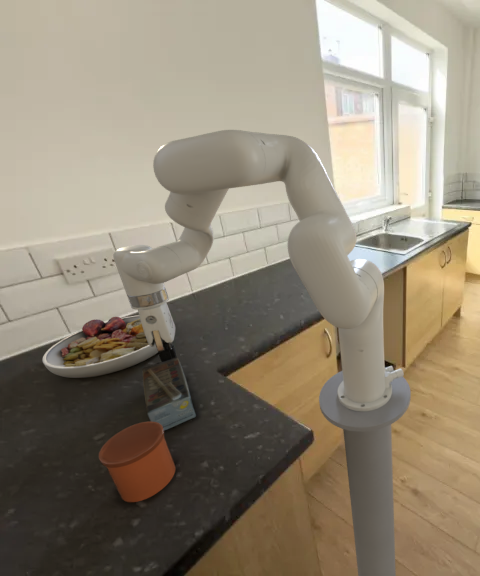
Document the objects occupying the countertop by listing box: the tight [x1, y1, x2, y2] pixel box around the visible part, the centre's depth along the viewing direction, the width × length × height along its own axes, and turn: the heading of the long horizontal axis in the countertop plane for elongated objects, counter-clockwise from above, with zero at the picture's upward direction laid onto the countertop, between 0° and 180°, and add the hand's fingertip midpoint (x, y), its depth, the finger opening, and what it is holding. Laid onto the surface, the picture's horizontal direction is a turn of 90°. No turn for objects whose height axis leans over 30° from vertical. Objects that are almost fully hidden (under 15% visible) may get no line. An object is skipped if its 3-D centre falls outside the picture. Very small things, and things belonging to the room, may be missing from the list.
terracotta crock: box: [98, 421, 176, 503], centre depth 54 cm, size 9×9×9 cm
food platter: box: [42, 314, 158, 379], centre depth 93 cm, size 30×30×8 cm
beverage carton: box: [142, 356, 197, 431], centre depth 72 cm, size 8×19×7 cm, turn 38°
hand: (170, 361), depth 83 cm, fingers closed
